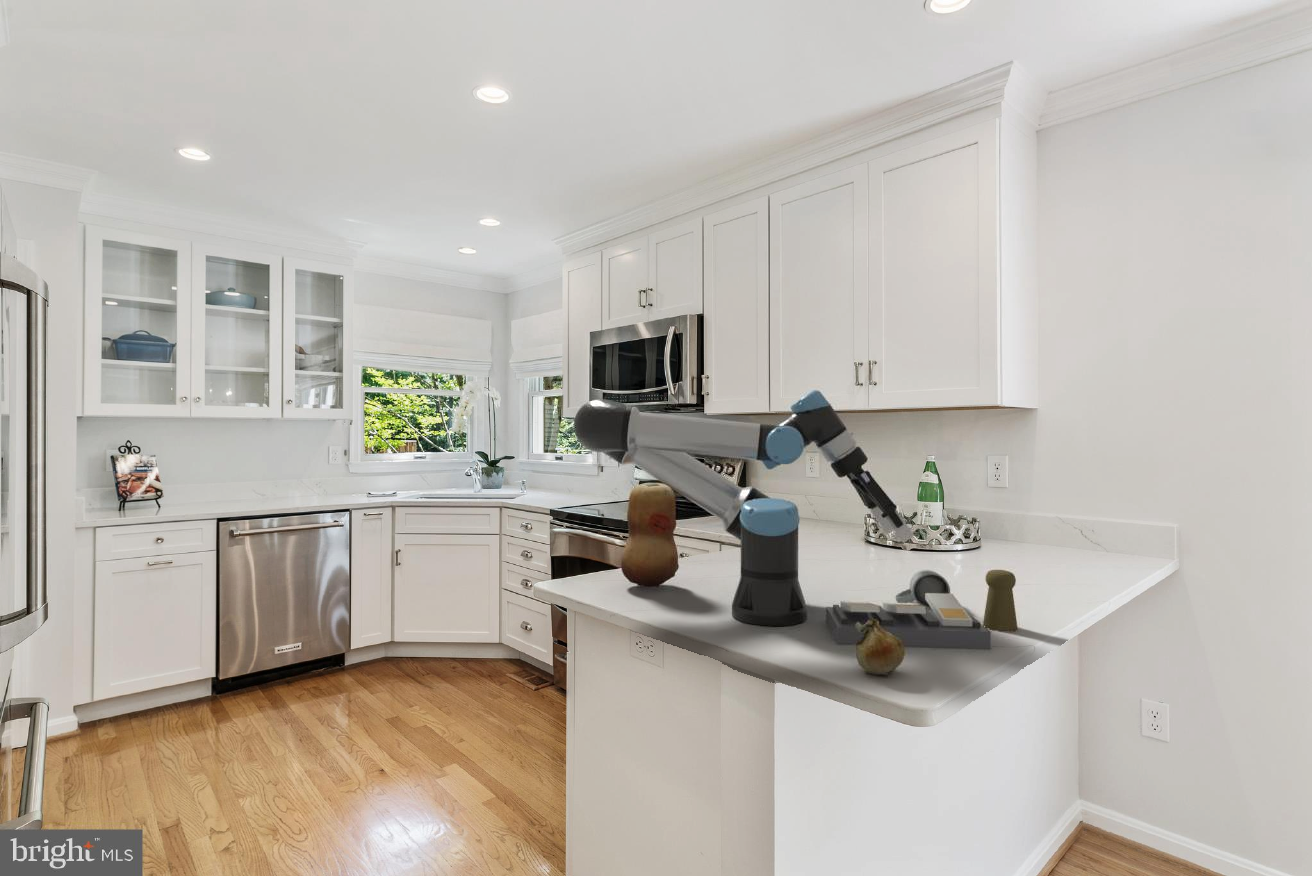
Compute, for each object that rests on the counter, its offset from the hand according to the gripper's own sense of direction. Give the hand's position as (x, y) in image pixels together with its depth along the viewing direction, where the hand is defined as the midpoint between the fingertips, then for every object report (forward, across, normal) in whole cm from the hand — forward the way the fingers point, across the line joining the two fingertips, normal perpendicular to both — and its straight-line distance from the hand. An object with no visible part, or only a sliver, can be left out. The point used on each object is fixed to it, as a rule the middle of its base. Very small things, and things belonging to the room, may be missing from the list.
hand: (899, 535), depth 149 cm
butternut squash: (-19, +11, +55) cm, 59 cm away
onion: (+5, -43, +21) cm, 48 cm away
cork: (+21, -16, -3) cm, 27 cm away
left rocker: (+1, -22, +17) cm, 28 cm away
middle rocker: (+6, -22, +10) cm, 25 cm away
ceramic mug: (+16, +1, +5) cm, 16 cm away
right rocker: (+10, -22, +4) cm, 25 cm away
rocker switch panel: (+10, -22, +13) cm, 28 cm away
